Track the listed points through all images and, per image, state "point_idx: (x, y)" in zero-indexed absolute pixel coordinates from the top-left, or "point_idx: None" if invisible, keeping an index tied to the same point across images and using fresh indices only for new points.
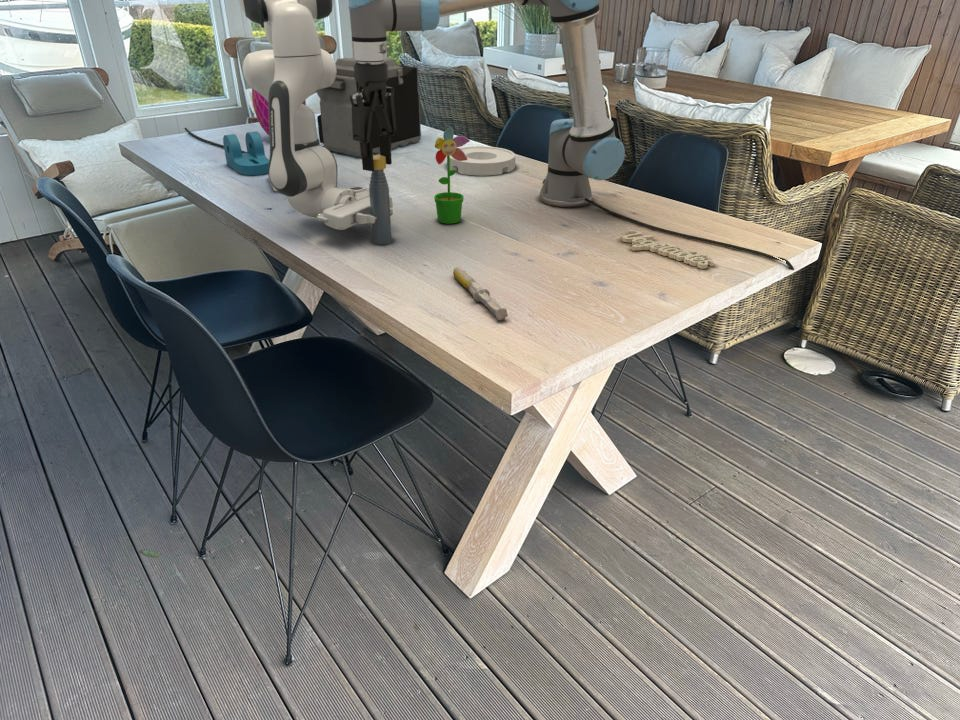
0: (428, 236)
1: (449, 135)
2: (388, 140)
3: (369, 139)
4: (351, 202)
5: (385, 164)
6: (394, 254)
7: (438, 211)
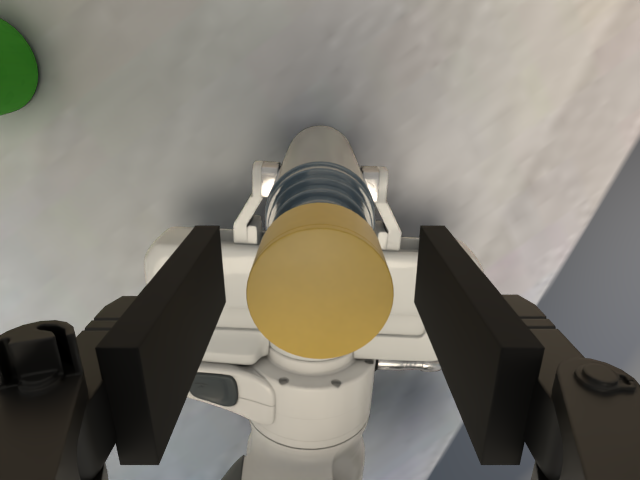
0: (183, 38)
1: None
2: (155, 321)
3: (563, 381)
4: None
5: (298, 213)
6: (402, 44)
7: (14, 89)
